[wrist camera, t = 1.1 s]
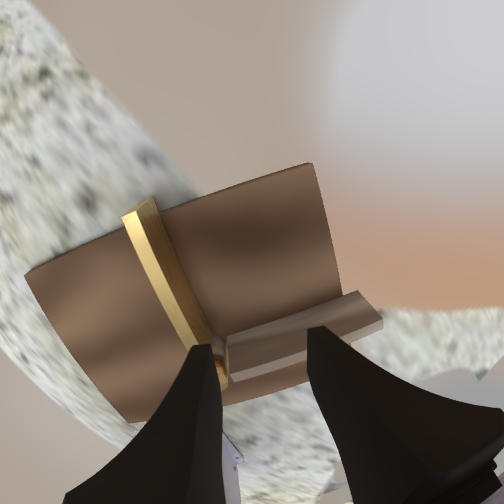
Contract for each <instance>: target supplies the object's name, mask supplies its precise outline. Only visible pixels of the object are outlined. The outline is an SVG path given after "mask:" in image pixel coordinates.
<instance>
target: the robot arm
mask: <svg viewBox="0 0 504 504" xmlns="http://www.w3.org/2000/svg"><path fill="white" fill-rule="evenodd" d="M307 374H308V377H309V381H310V384H311V387H312V391H313V394H314V396H315V399H316V401H317V403H318V405H319V408H320V410H321V412H322V414H323V417H324V419H325V421H326V423H327V425H328V428H329V430H330V432H331V434H332V436H333V439H334V441H335V443H336V446H337V448H338V451H339V454H340V457H341V461H342V464H343V467H344V470H345V474H346V477H347V481H348V484H349V488H350V491H351V495H352V499H353V503H354V504H504V472H503V473H502V474H501V475H500V476H498V477H497V476H496V474H495V473H494V471H493V470H495V469H496V468H497V464H496V463H495V461H494V460H493V459H494V458H495V457H496V455H497V454H498V453H499V452H500V451H501V450H502V449H503V448H504V412H503V411H502V410H501V409H500V408H491V407H485V406H478V405H473V404H468V403H464V402H459V401H456V400H452V399H449V398H445V397H442V396H439V395H437V394H434V393H431V392H429V391H426V390H423V389H421V388H419V387H416V386H414V385H412V384H410V383H408V382H406V381H404V380H402V379H400V378H398V377H396V376H394V375H393V374H391V373H389V372H387V371H386V370H384V369H382V368H381V367H379V366H378V365H376V364H374V363H373V362H371V361H370V360H368V359H367V358H366V357H364V356H363V355H362V354H360V353H359V352H357V351H356V350H354V349H353V348H352V347H351V346H349V345H348V344H347V343H346V342H344V341H343V340H342V339H341V338H339V337H338V336H337V335H336V334H334V333H333V332H332V331H331V330H329V329H328V328H327V327H325V326H324V325H323V326H318V327H313V328H308V329H307ZM222 424H223V407H222V396H221V386H220V381H219V377H218V373H217V369H216V365H215V361H214V356H213V352H212V348H211V344H210V343H209V344H200V345H193V346H192V347H191V348H190V350H189V352H188V354H187V357H186V359H185V361H184V363H183V365H182V367H181V369H180V371H179V373H178V375H177V377H176V378H175V380H174V382H173V384H172V385H171V387H170V389H169V391H168V392H167V394H166V395H165V397H164V399H163V400H162V402H161V403H160V405H159V406H158V408H157V409H156V411H155V412H154V414H153V415H152V416H151V418H150V419H149V420H148V422H147V423H146V424H145V425H144V427H143V428H142V429H141V430H140V432H139V433H138V434H137V435H136V436H135V437H134V438H133V439H132V441H131V442H130V443H129V444H128V445H127V446H126V447H125V448H124V449H123V450H122V451H121V452H120V453H119V454H118V455H117V456H116V457H115V458H113V459H112V460H111V461H110V462H109V463H108V464H107V465H106V466H104V467H103V468H102V469H101V470H100V471H98V472H97V473H96V474H95V475H93V476H92V477H90V478H89V479H87V480H86V481H85V482H83V483H82V484H80V485H79V486H77V487H76V488H74V489H72V490H71V491H69V492H68V493H66V494H65V497H64V500H63V503H62V504H241V496H240V488H239V480H238V471H237V463H241V462H244V458H243V457H242V455H241V454H240V453H239V452H238V451H237V449H236V448H235V447H234V446H233V444H232V443H231V442H230V441H229V439H228V438H227V437H226V436H225V434H224V433H223V432H222Z"/></svg>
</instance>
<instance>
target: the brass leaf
mask: <svg viewBox="0 0 504 504" xmlns="http://www.w3.org/2000/svg"><path fill="white" fill-rule="evenodd" d="M121 218H122V220H123V223H124V225H125V227H126V230H127V232H128V234H129V237H130V239H131V241H132V243H133V246H134V248H135V250H136V252H137V254H138V257H139V259H140V261H141V263H142V265H143V267H144V269H145V272H146V274H147V276H148V278H149V280H150V282H151V284H152V286H153V288H154V290H155V292H156V294H157V296H158V298H159V300H160V302H161V304H162V306H163V307H164V309H165V311H166V313H167V315H168V317H169V319H170V321H171V322H172V324H173V326H174V328H175V330H176V332H177V333H178V335H179V337H180V339H181V340H182V342H183V344H184V346H185V347H186V349H187V351H188V352H189V350H190V348H191V347H192V346H193V345H200V344H209V343H210V344H211V348H212V331H211V329H210V327H209V325H208V323H207V321H206V319H205V317H204V315H203V313H202V311H201V309H200V306H199V304H198V302H197V300H196V298H195V296H194V294H193V291H192V289H191V287H190V285H189V283H188V280H187V278H186V276H185V274H184V272H183V269H182V267H181V265H180V262H179V260H178V258H177V256H176V253H175V251H174V249H173V246H172V244H171V242H170V239H169V237H168V234H167V232H166V230H165V227H164V225H163V222H162V220H161V217H160V215H159V212H158V210H157V207H156V205H155V202H154V200H153V197H151V198H149V199H147V200H144V201H142V202H140V203H139V204H137V205H136V206H135V207H133V208H132V209H131V210H130V211H128V212H127V213H126V214H125V215H123V216H122V217H121ZM213 356H214V361H215V365H216V369H217V373H218V377H219V381H220V386H221V391H223V390H225V389H226V388H227V386H228V371H227V362H226V360H225V359H224V358H223V357H221V356H219V355H213Z"/></svg>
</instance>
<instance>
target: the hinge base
mask: <svg viewBox="0 0 504 504" xmlns="http://www.w3.org/2000/svg"><path fill="white" fill-rule="evenodd" d="M159 215H160V217H161V220H162V222H163V225H164V227H165V230H166V232H167V234H168V237H169V239H170V242H171V244H172V246H173V249H174V251H175V253H176V256H177V258H178V260H179V262H180V265H181V267H182V269H183V272H184V274H185V276H186V278H187V280H188V283H189V285H190V287H191V289H192V291H193V294H194V296H195V298H196V300H197V302H198V304H199V306H200V309H201V311H202V313H203V315H204V317H205V319H206V321H207V323H208V325H209V327H210V329H211V331H212V352H213V355H219V356H221V357H223V358H224V359H225V360H226V362H227V371H228V386H227V388H226V389H225V390H223V391H221V396H222V407H223V406H227V405H231V404H235V403H239V402H243V401H246V400H250V399H254V398H257V397H261V396H264V395H267V394H271V393H274V392H277V391H280V390H284V389H287V388H290V387H293V386H296V385H299V384H302V383H304V382H307V381H309V377H308V374H307V329H308V328H313V327H318V326H323V325H324V326H325V327H327V328H328V329H329V330H331V331H332V332H333V333H334V334H336V335H337V336H338V337H339V338H341V339H342V340H343V341H344V342H346V343H347V344H348V345H349V346H351V344H350V343H351V342H353V341H356V340H358V339H360V338H363V337H365V336H367V335H370V334H372V333H374V332H376V331H379V330H381V329H383V318H382V317H381V316H380V315H379V314H378V313H377V311H376V310H375V309H374V308H373V307H372V306H371V305H370V304H369V302H368V301H367V300H366V299H365V298H364V297H363V296H362V295H361V293H360V292H359V291H358V290H357V291H354V292H351V293H349V294H346V295H344V296H343V294H342V289H341V283H340V278H339V273H338V268H337V263H336V258H335V254H334V248H333V244H332V239H331V235H330V230H329V226H328V222H327V217H326V213H325V209H324V205H323V201H322V197H321V193H320V189H319V185H318V181H317V177H316V174H315V170H314V166H313V163H304V164H301V165H297V166H294V167H291V168H287V169H284V170H281V171H278V172H274V173H271V174H268V175H265V176H262V177H259V178H255V179H252V180H249V181H246V182H243V183H240V184H237V185H234V186H232V187H228V188H226V189H223V190H220V191H217V192H214V193H211V194H208V195H206V196H203V197H200V198H197V199H195V200H192V201H189V202H186V203H184V204H181V205H178V206H176V207H173V208H171V209H168V210H165V211H163V212H160V213H159ZM24 277H25V279H26V281H27V283H28V285H29V287H30V289H31V291H32V292H33V294H34V296H35V298H36V300H37V301H38V303H39V305H40V307H41V308H42V310H43V312H44V313H45V315H46V317H47V318H48V320H49V322H50V323H51V325H52V326H53V328H54V330H55V331H56V333H57V334H58V336H59V337H60V339H61V340H62V342H63V343H64V345H65V346H66V347H67V349H68V350H69V352H70V353H71V355H72V356H73V357H74V359H75V360H76V361H77V363H78V364H79V366H80V367H81V368H82V369H83V371H84V372H85V373H86V375H87V376H88V377H89V378H90V380H91V381H92V382H93V383H94V385H95V386H96V387H97V388H98V390H99V391H100V392H101V393H102V394H103V396H104V397H105V398H106V399H107V400H108V401H109V402H110V404H111V405H112V406H113V407H114V408H115V409H116V410H117V411H118V413H119V414H120V415H121V416H122V417H123V418H124V419H125V420H126V421H127V422H128V423H136V422H144V421H148V420H149V419H150V418H151V416H152V415H153V414H154V412H155V411H156V409H157V408H158V406H159V405H160V403H161V402H162V400H163V399H164V397H165V395H166V394H167V392H168V391H169V389H170V387H171V385H172V384H173V382H174V380H175V378H176V377H177V375H178V373H179V371H180V369H181V367H182V365H183V363H184V361H185V359H186V357H187V354H188V351H187V349H186V347H185V346H184V344H183V342H182V340H181V339H180V337H179V335H178V333H177V332H176V330H175V328H174V326H173V324H172V322H171V321H170V319H169V317H168V315H167V313H166V311H165V309H164V307H163V306H162V304H161V302H160V300H159V298H158V296H157V294H156V292H155V290H154V288H153V286H152V284H151V282H150V280H149V278H148V276H147V274H146V272H145V269H144V267H143V265H142V263H141V261H140V259H139V257H138V254H137V252H136V250H135V248H134V246H133V243H132V241H131V239H130V237H129V234H128V232H127V230H126V227H123V228H121V229H118V230H116V231H114V232H111V233H109V234H107V235H105V236H102V237H100V238H98V239H95V240H93V241H91V242H89V243H86V244H84V245H82V246H80V247H78V248H76V249H73V250H71V251H69V252H67V253H65V254H63V255H61V256H58V257H56V258H54V259H52V260H50V261H48V262H46V263H44V264H42V265H40V266H38V267H36V268H34V269H32V270H30V271H29V272H28V273H26V274H25V275H24Z"/></svg>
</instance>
